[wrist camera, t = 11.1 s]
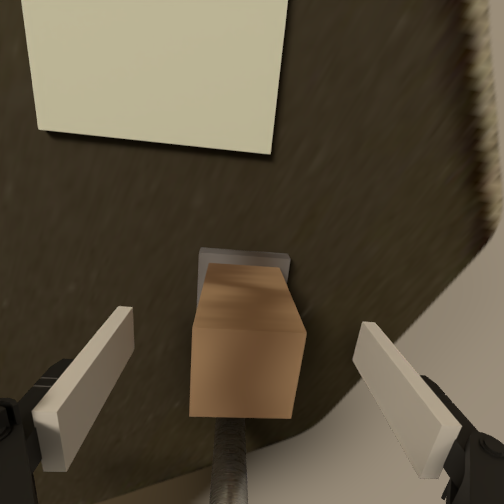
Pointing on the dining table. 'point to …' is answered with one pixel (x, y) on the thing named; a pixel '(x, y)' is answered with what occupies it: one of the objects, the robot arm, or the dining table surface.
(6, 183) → the dining table surface
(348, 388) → the dining table surface
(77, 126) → the sage mat
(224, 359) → the brown boxy piece
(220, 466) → the grey l-shaped handle
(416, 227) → the dining table surface
